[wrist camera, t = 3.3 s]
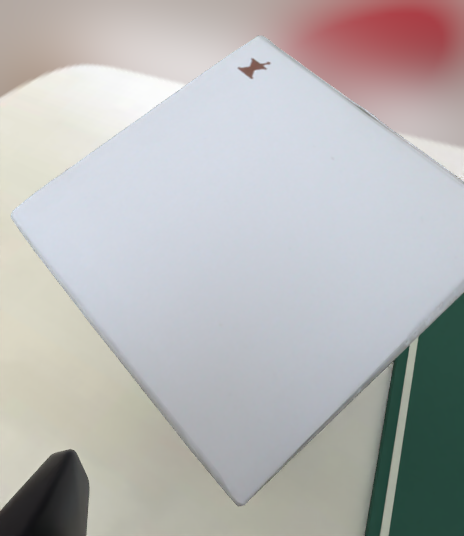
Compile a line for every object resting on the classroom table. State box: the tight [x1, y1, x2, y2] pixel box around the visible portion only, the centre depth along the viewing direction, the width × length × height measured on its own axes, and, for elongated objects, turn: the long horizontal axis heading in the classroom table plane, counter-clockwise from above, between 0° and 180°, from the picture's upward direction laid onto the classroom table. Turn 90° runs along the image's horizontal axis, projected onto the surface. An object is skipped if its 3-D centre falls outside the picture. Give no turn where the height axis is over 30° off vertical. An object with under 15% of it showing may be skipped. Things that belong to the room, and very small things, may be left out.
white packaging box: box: [11, 36, 464, 506], centre depth 14 cm, size 7×7×13 cm
